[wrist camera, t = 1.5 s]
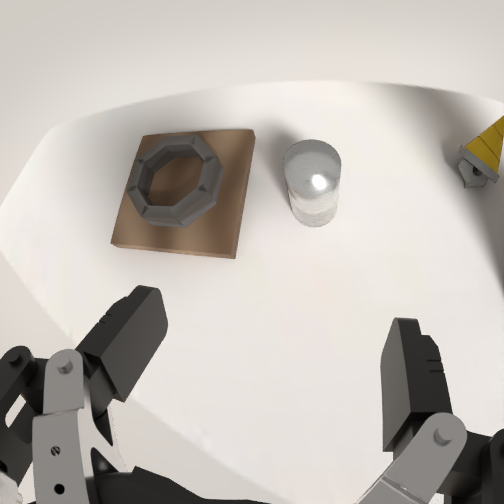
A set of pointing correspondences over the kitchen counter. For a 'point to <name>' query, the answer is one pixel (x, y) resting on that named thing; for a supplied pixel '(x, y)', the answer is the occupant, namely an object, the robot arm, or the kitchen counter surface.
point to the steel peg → (312, 181)
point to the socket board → (186, 193)
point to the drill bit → (482, 156)
